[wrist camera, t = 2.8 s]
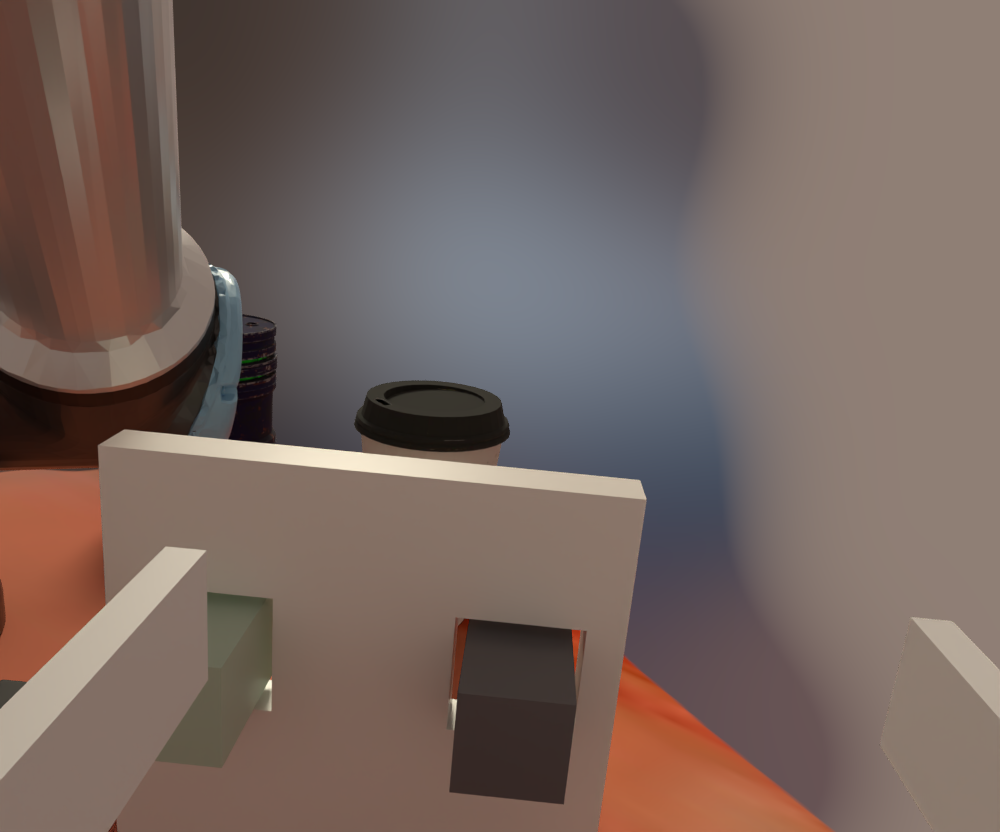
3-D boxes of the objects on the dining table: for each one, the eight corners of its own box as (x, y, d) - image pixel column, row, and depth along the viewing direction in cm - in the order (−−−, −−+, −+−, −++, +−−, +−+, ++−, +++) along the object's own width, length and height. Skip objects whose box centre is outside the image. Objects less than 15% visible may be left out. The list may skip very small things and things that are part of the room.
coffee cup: (520, 628, 55) (543, 412, 51) (386, 666, 50) (400, 427, 45) (446, 566, 63) (461, 374, 59) (323, 592, 57) (330, 382, 53)
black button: (449, 792, 29) (457, 693, 28) (464, 690, 35) (471, 604, 33) (563, 804, 29) (577, 705, 28) (559, 700, 34) (570, 614, 33)
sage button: (109, 756, 29) (103, 656, 28) (180, 660, 35) (178, 574, 34) (221, 768, 29) (221, 668, 28) (274, 670, 35) (275, 584, 34)
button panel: (118, 846, 35) (97, 445, 30) (177, 752, 41) (168, 402, 36) (587, 897, 35) (646, 499, 30) (580, 795, 40) (629, 447, 36)
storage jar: (157, 516, 67) (151, 334, 63) (155, 473, 75) (150, 310, 71) (283, 507, 71) (286, 335, 66) (268, 467, 79) (269, 313, 75)
